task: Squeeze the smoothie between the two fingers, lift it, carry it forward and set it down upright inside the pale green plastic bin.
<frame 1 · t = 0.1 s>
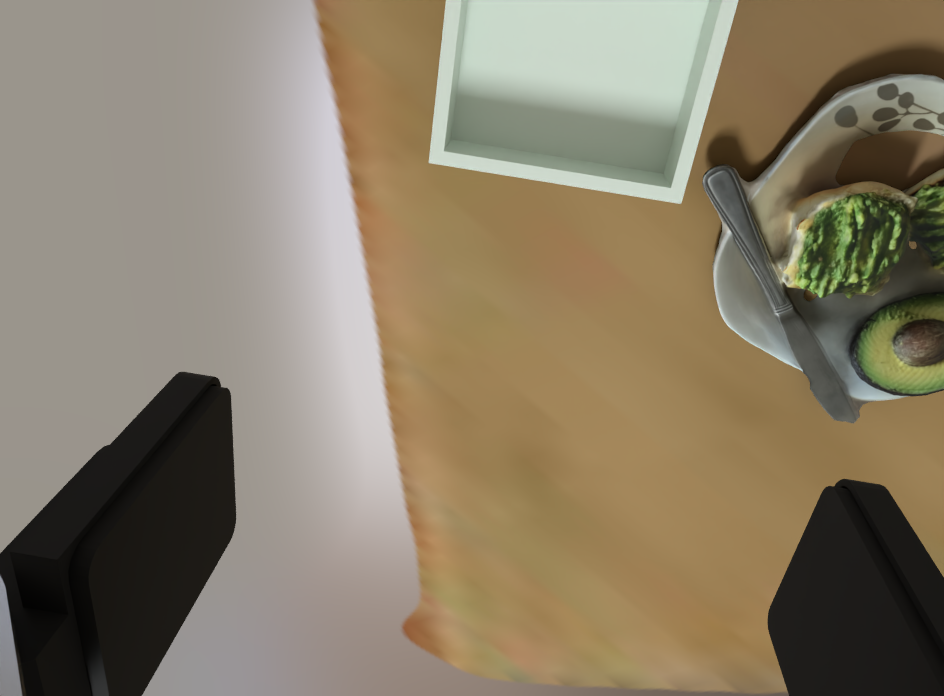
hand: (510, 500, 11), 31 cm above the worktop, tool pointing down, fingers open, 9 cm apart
bin: (578, 40, 37), on the worktop
avocado toast plate: (879, 252, 41), on the worktop
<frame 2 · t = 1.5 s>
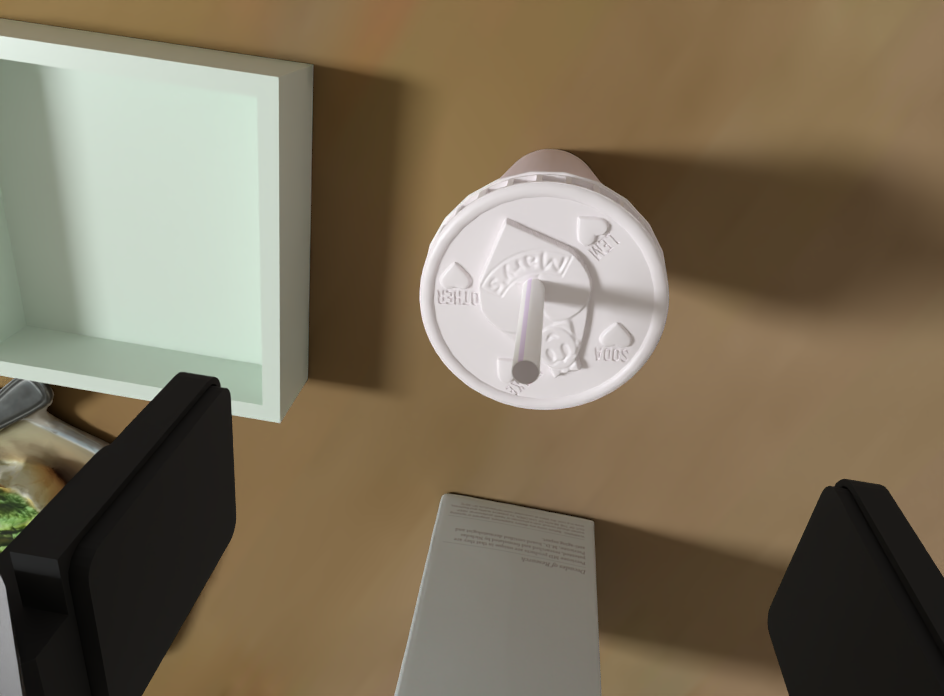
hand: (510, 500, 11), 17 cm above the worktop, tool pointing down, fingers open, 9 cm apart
bin: (151, 213, 29), on the worktop
avocado toast plate: (35, 526, 39), on the worktop
smoothie: (549, 198, 27), on the worktop
supplement box: (505, 557, 35), on the worktop
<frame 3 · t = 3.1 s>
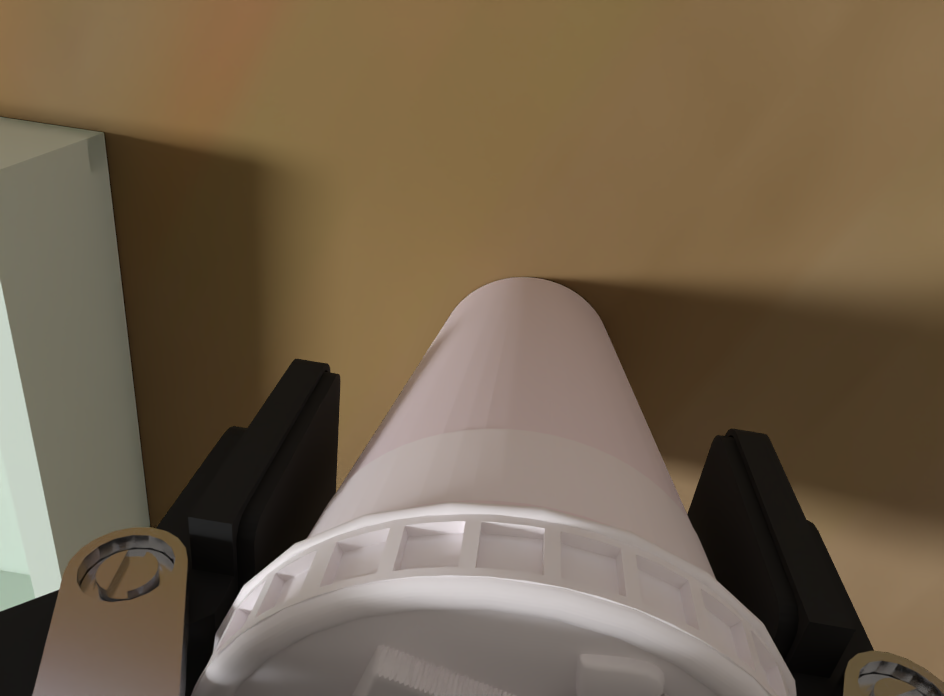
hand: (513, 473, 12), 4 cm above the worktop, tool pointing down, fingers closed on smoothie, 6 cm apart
smoothie: (524, 352, 16), on the worktop, touching gripper
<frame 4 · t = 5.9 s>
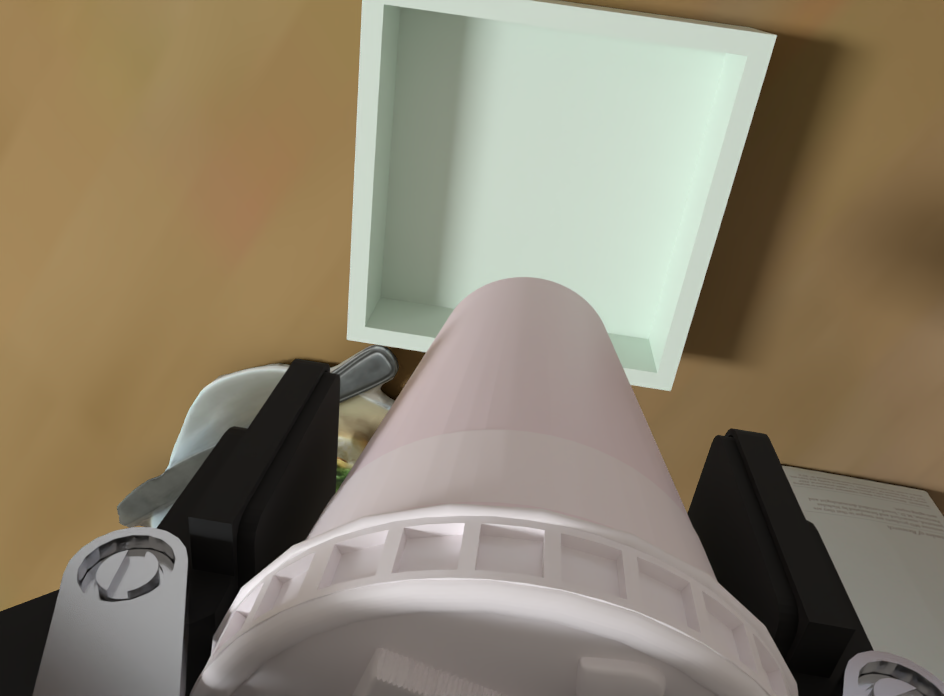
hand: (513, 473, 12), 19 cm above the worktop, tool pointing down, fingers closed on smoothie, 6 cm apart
bin: (536, 181, 29), on the worktop
avocado toast plate: (320, 504, 38), on the worktop
smoothie: (524, 352, 16), point 15 cm above the worktop, touching gripper
supplement box: (819, 530, 35), on the worktop
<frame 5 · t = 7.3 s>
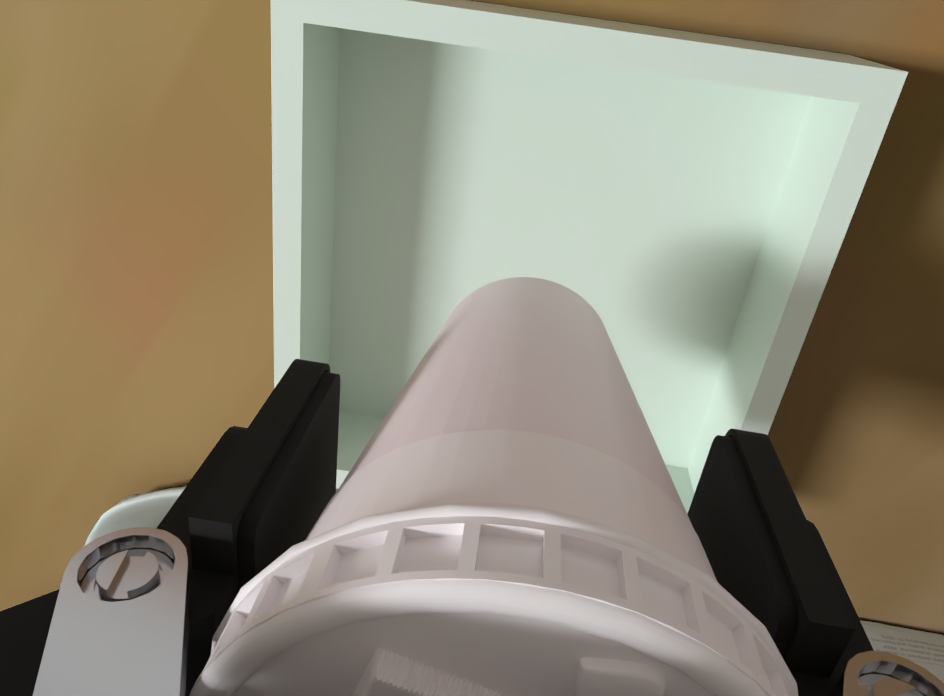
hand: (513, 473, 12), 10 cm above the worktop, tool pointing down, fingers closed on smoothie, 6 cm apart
bin: (536, 262, 21), on the worktop
avocado toast plate: (264, 641, 31), on the worktop
smoothie: (524, 352, 16), point 6 cm above the worktop, touching gripper
supplement box: (900, 693, 27), on the worktop
when the fingers open (6 cm above the worktop, at t = 8.5 s): smoothie drops 2 cm, resting on bin.
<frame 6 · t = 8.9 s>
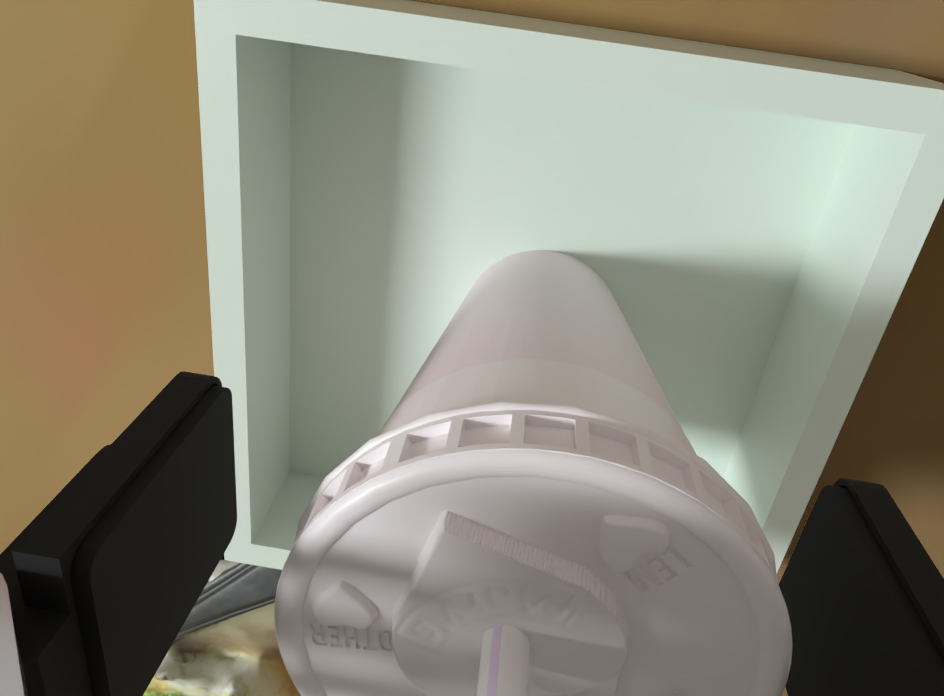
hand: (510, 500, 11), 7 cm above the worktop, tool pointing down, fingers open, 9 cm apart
bin: (527, 309, 18), on the worktop
smoothie: (539, 319, 17), resting on bin
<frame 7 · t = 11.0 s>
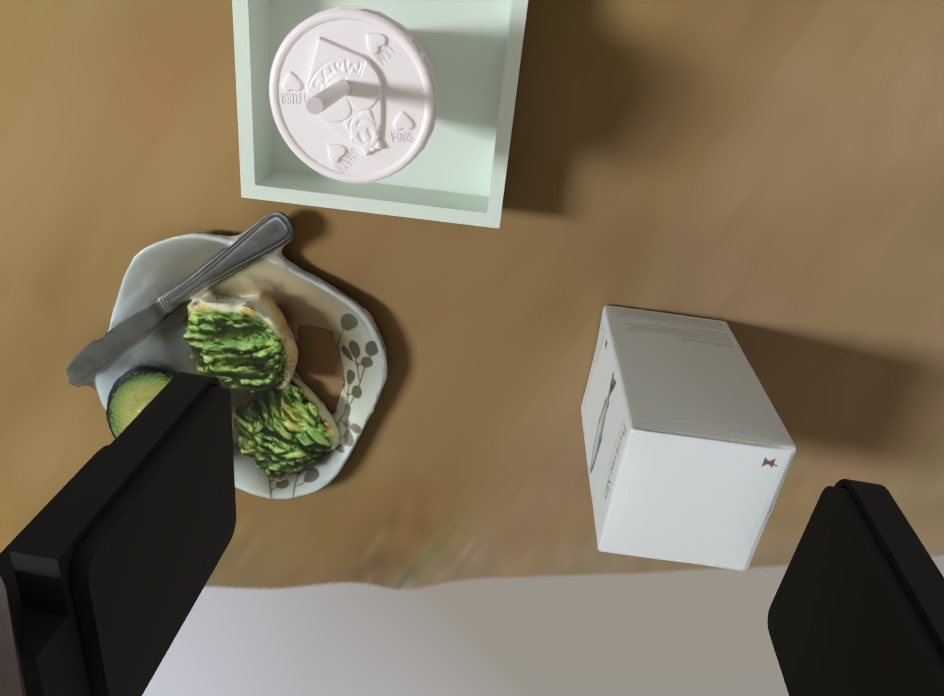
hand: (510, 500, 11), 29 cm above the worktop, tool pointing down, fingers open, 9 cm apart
bin: (388, 66, 36), on the worktop
avocado toast plate: (241, 367, 45), on the worktop
smoothie: (393, 69, 36), resting on bin
supplement box: (649, 363, 43), on the worktop
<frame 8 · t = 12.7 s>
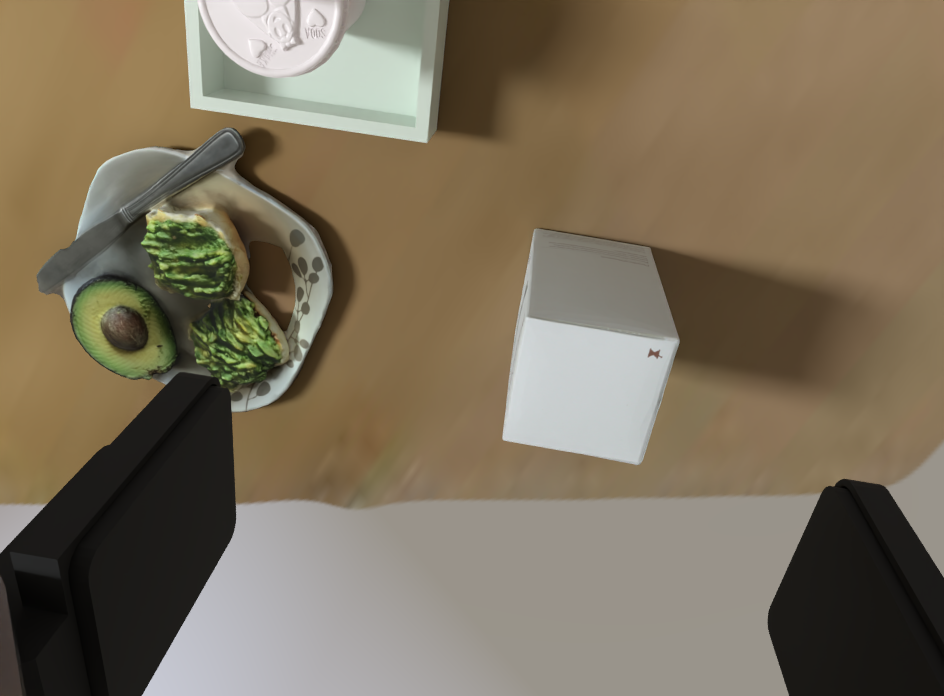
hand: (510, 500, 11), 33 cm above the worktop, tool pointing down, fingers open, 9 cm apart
avocado toast plate: (199, 283, 49), on the worktop
supplement box: (579, 288, 46), on the worktop
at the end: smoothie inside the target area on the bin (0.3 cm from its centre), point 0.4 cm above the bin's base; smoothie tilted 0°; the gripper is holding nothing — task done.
